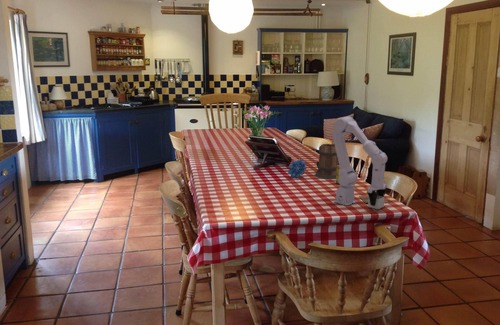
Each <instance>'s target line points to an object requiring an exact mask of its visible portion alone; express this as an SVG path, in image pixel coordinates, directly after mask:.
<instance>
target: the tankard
mask: <svg viewBox="0 0 500 325" xmlns="http://www.w3.org/2000/svg"><path fill="white" fill-rule="evenodd" d="M318 154H319V155H318V160H317V161H316V168H317V171H316V172H315V174H314V177H315V178H317V179H322V180H336V171H337V165H339V161H338V157H337V153H336V148H335V144H332V143H322V144H320V146H319V147H318Z"/></svg>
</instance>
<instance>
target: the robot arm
mask: <svg viewBox="0 0 500 325" xmlns="http://www.w3.org/2000/svg"><path fill="white" fill-rule="evenodd" d="M347 133H352V134H353V136H354V137H355V138H356V139H357V140H358V141H359V142H360V143H361V144H362V149H363V151H364V152H365V153H366V154H367V155H368V156H369V158H370V161H371V164H372V172H371V174H372V176H371V185H370V186H369V187H368V188H367V190H366V194H367V196H369V199H370V204H371V205H373V206H375V204H376V199H377V196H382V197H385V195H386V193H387V192H388V189H387V183H385V171H386V163H387V162H388V156H387V154H386V153H385V152H383V151H382V150H381V149H379V147H378V146H377V145H376V142H375V141H373V140H370V139H368V138H367V136H366V134H364V132H363V131H362V129H361V128H360V127H359V125H358V123H357V121H356V120H355V119H354V118H353V117H352V116H349V115H348V116H345V117H338V118H336V119H335V121H334V122H333V129H332V140H333V143H334V144H335V148H336V153H337V157H338V165H340V170H339V172H338V174H339V178H338V181H339V184H340V185H339V184H338V185H339V187H338V188H337V189H336V190H335V200H334V203H337V204H339V205H344V206H349V205H352V203H353V204H355V203H357V202H358V201H357V200H356V199H355V188H356V187H355V184H356V182H357V181H358V175H357V173H356V171H355V170H354V167H353V166H351V162H350V157H349V153H348V148H347V145H346V141H345V135H346V134H347Z"/></svg>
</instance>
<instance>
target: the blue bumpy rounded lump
mask: <svg viewBox="0 0 500 325" xmlns="http://www.w3.org/2000/svg"><path fill="white" fill-rule="evenodd" d="M307 168H308V167H307V165H306V161H305V160H302V159H301V158H298V159H297V160H293V161H292V162H291V164H289V166H288V169H289V170H288V171H287V174H288V175H290V178H296V179H298V178H300V177H301V176H303V175H304V174H305V171H306V170H307Z"/></svg>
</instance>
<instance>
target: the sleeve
mask: <svg viewBox="0 0 500 325" xmlns="http://www.w3.org/2000/svg"><path fill="white" fill-rule="evenodd" d="M384 199H385V200H386V198H385V196H384V197H382V196H377V199H376V204H375V206H373V205H371V204H370V199H369V198H368V204H367V208H368V207H369V208H372V209H376V210H379V209H381V208H384V207H385V204H384Z"/></svg>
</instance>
